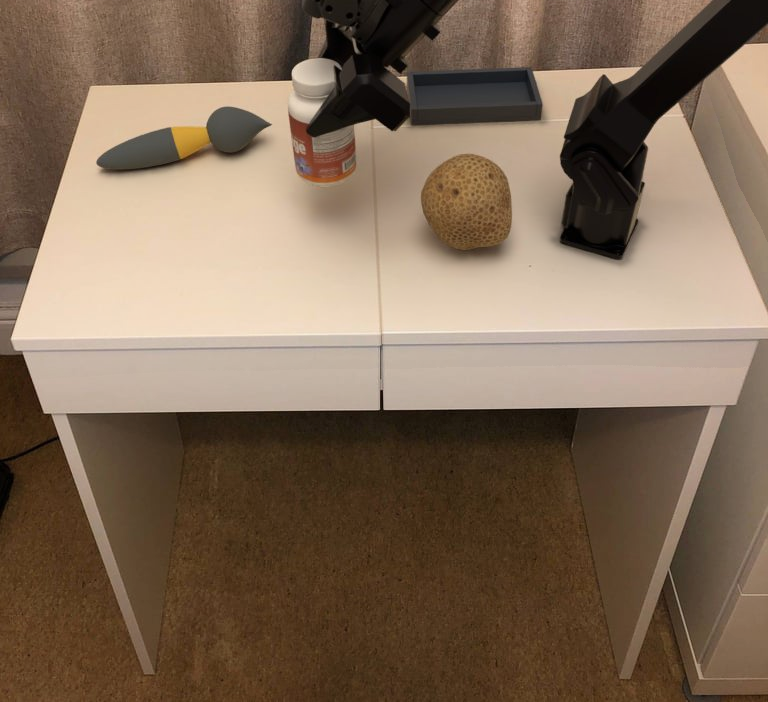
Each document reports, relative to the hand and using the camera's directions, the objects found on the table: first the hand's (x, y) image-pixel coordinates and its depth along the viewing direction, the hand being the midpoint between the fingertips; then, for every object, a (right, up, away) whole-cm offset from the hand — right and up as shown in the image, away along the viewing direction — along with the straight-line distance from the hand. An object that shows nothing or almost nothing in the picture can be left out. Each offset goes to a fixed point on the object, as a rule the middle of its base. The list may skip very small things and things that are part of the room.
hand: (306, 114), depth 83 cm
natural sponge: (+16, -11, +6) cm, 20 cm away
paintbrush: (-15, -1, +17) cm, 22 cm away
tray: (+18, +8, +23) cm, 30 cm away
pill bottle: (+2, -4, +5) cm, 7 cm away
